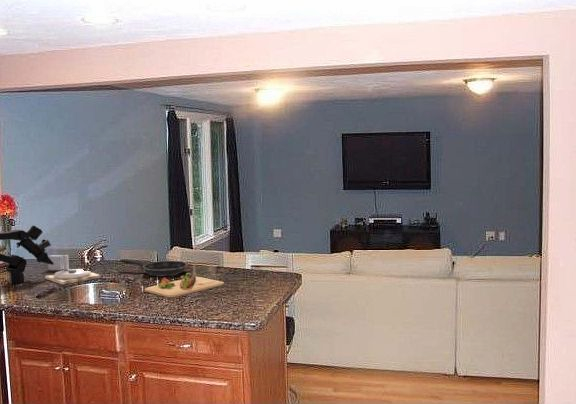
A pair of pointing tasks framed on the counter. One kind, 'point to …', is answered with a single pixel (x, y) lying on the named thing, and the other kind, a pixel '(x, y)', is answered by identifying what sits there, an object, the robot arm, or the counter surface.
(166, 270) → the frying pan
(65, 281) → the dial base
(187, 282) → the cutting board
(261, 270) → the counter surface
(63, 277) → the white base with post
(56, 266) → the medicine box
